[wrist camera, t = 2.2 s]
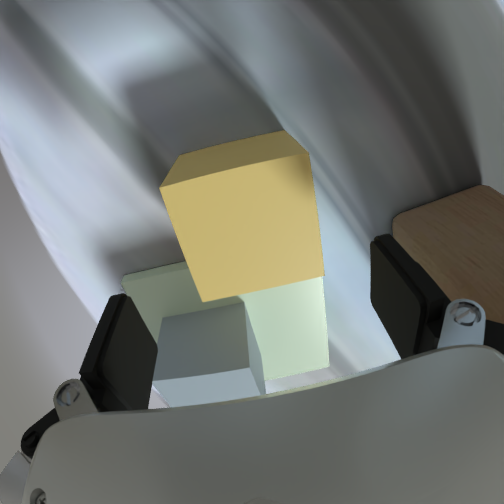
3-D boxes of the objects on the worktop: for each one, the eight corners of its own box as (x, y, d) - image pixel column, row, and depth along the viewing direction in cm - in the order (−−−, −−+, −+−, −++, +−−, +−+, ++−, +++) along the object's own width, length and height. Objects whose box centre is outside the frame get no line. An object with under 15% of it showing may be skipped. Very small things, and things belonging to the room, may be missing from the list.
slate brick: (162, 317, 23) (150, 381, 18) (244, 301, 22) (249, 367, 17) (190, 367, 26) (187, 425, 21) (261, 356, 26) (268, 415, 21)
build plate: (124, 275, 22) (120, 283, 21) (314, 232, 21) (317, 239, 20) (187, 384, 29) (187, 392, 28) (326, 358, 28) (329, 366, 27)
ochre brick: (179, 154, 18) (159, 187, 13) (284, 129, 17) (308, 152, 12) (207, 244, 21) (202, 302, 16) (301, 223, 21) (324, 275, 16)
